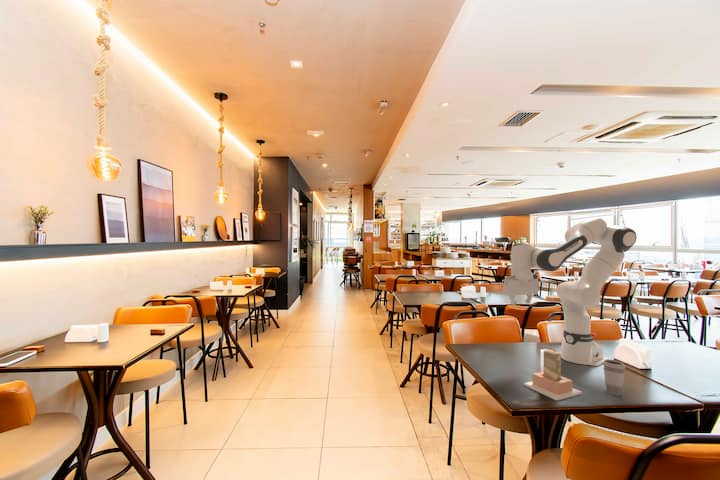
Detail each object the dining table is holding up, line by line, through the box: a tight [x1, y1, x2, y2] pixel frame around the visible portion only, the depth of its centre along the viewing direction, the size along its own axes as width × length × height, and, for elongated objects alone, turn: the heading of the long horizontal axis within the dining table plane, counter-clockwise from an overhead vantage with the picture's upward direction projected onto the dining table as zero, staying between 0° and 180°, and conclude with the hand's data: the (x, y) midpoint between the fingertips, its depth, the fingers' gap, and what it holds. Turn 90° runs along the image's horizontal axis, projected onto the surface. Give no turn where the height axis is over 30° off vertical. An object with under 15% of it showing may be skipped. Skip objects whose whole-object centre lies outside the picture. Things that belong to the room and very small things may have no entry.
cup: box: [601, 359, 626, 397], centre depth 125 cm, size 7×7×12 cm
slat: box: [543, 349, 562, 381], centre depth 128 cm, size 3×5×14 cm, turn 23°
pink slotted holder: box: [523, 371, 583, 401], centre depth 128 cm, size 14×14×5 cm
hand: (520, 304), depth 156 cm, fingers open, 8 cm apart
